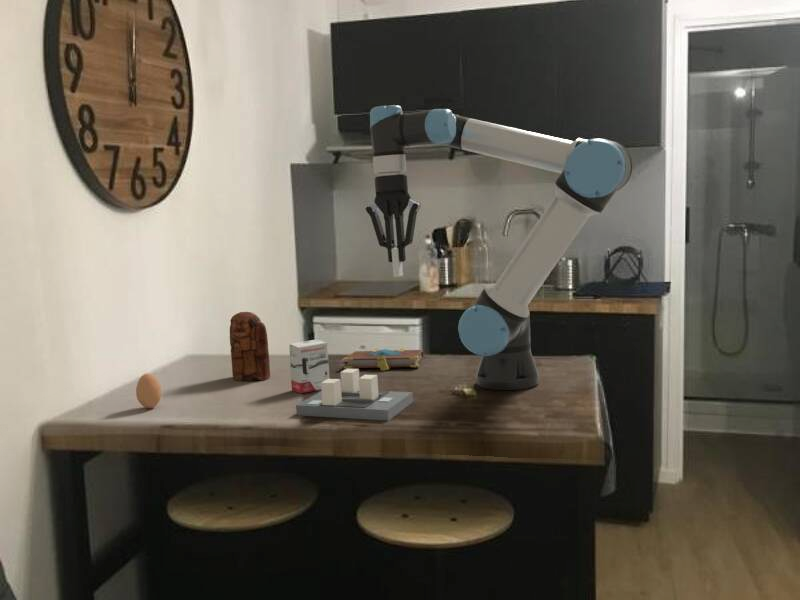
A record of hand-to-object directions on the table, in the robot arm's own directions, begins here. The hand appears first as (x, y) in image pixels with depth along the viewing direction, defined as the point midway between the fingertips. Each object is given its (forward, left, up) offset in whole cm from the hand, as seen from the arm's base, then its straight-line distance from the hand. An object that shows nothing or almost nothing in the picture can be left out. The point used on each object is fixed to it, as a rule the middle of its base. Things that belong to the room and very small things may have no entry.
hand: (398, 275), depth 198 cm
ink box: (+25, 0, -28) cm, 38 cm away
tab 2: (+9, +10, -26) cm, 29 cm away
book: (+19, -28, -29) cm, 45 cm away
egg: (+56, +23, -28) cm, 67 cm away
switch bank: (+6, +15, -28) cm, 32 cm away
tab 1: (+9, +20, -26) cm, 34 cm away
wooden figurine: (+47, -8, -28) cm, 56 cm away
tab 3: (+3, +15, -26) cm, 30 cm away
